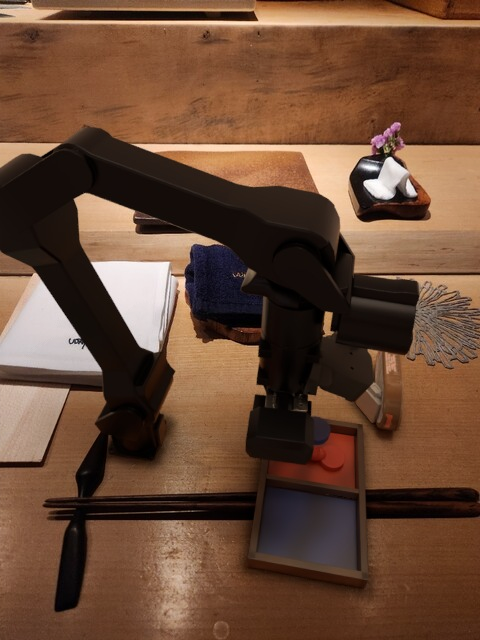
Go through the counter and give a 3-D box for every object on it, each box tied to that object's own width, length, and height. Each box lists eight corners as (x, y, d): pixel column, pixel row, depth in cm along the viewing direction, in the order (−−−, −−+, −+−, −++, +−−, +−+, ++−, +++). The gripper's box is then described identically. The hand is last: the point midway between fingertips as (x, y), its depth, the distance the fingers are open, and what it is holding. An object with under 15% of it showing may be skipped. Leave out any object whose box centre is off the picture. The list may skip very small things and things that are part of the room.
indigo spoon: (249, 436, 54) (249, 427, 53) (252, 413, 56) (253, 404, 55) (329, 447, 53) (331, 438, 52) (329, 422, 56) (331, 413, 54)
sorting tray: (247, 567, 52) (247, 558, 50) (268, 421, 66) (269, 410, 65) (363, 588, 50) (368, 580, 49) (359, 434, 65) (362, 424, 63)
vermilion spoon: (273, 462, 61) (273, 455, 60) (275, 440, 63) (276, 432, 62) (344, 473, 60) (346, 466, 58) (344, 451, 62) (346, 443, 61)
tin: (394, 443, 64) (410, 406, 58) (371, 439, 65) (385, 402, 59) (390, 364, 75) (403, 327, 69) (370, 361, 75) (382, 324, 70)
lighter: (381, 419, 67) (395, 383, 61) (372, 423, 66) (385, 388, 61) (352, 384, 72) (362, 349, 66) (343, 388, 71) (352, 352, 66)
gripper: (387, 419, 36) (351, 510, 47) (370, 276, 50) (346, 372, 60) (246, 402, 37) (243, 494, 48) (268, 267, 51) (261, 362, 61)
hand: (279, 423), depth 54 cm, fingers closed on indigo spoon, 2 cm apart
